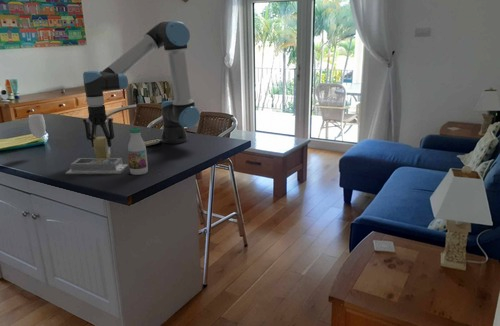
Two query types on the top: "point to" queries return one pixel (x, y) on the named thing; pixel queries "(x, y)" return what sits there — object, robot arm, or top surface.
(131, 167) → the milk bottle
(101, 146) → the block
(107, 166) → the butter dish
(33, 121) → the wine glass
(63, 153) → the top surface
